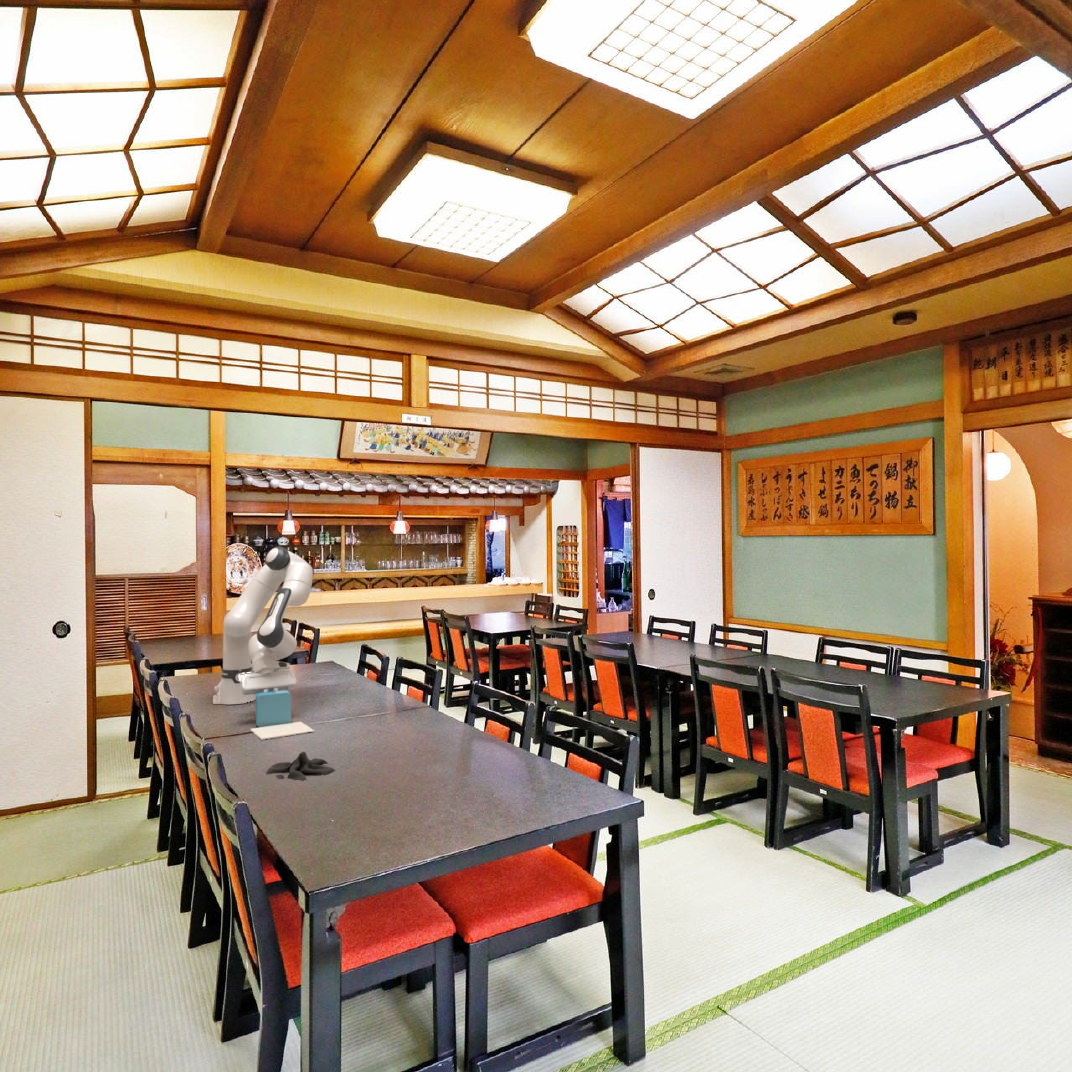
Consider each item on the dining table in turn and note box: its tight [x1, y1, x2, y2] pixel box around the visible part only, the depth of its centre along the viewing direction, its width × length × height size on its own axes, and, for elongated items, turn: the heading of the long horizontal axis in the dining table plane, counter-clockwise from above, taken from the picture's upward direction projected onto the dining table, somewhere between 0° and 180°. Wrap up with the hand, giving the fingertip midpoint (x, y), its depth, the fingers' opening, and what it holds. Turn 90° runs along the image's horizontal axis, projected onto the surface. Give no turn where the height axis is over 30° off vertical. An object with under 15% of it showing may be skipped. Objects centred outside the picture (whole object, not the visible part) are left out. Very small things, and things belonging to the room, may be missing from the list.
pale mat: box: [249, 721, 315, 741], centre depth 248 cm, size 16×18×1 cm
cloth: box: [265, 751, 336, 782], centre depth 203 cm, size 22×19×6 cm
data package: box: [255, 690, 292, 728], centre depth 257 cm, size 12×4×12 cm, turn 118°
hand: (272, 700), depth 260 cm, fingers closed
